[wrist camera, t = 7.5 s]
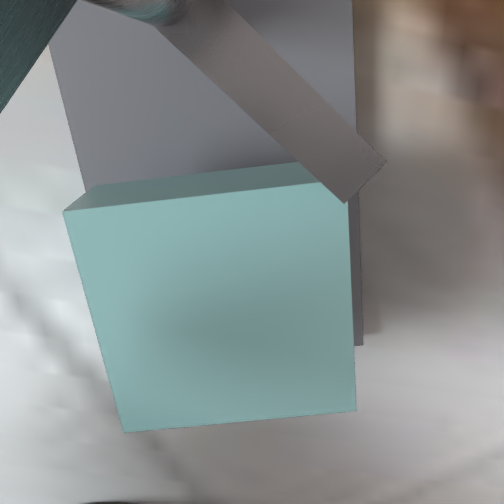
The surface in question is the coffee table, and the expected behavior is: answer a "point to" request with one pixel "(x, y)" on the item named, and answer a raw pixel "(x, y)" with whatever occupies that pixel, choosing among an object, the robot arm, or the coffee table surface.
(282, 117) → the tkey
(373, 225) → the coffee table surface
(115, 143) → the grey base plate
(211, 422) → the lid
